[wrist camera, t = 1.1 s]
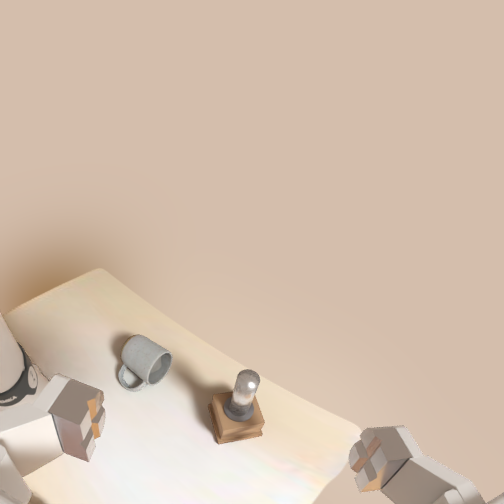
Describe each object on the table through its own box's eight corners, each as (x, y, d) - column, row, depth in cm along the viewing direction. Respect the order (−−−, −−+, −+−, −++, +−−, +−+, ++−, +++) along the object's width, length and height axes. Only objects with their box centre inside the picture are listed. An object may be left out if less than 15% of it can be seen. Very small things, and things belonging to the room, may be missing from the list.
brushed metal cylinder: (232, 417, 43) (240, 390, 37) (227, 401, 45) (234, 371, 40) (250, 414, 44) (262, 386, 38) (245, 398, 46) (256, 367, 41)
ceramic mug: (143, 346, 58) (139, 323, 54) (174, 367, 56) (172, 345, 51) (110, 378, 50) (102, 357, 46) (141, 402, 48) (135, 384, 43)
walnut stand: (218, 444, 44) (221, 432, 40) (208, 406, 50) (210, 391, 46) (261, 435, 46) (269, 423, 43) (249, 400, 52) (254, 384, 49)
